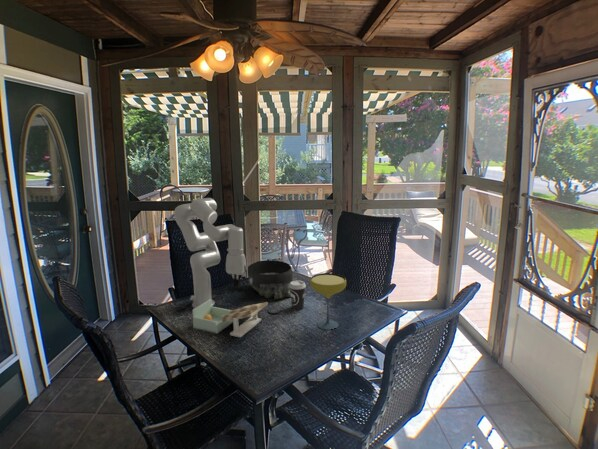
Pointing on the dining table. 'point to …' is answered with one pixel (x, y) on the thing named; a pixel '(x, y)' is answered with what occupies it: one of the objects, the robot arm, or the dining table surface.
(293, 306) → the coffee cup
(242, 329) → the stand
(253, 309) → the beige flat panel
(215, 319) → the bin
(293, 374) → the dining table surface
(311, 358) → the dining table surface
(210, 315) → the orange ball
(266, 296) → the basket
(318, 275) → the cocktail glass
